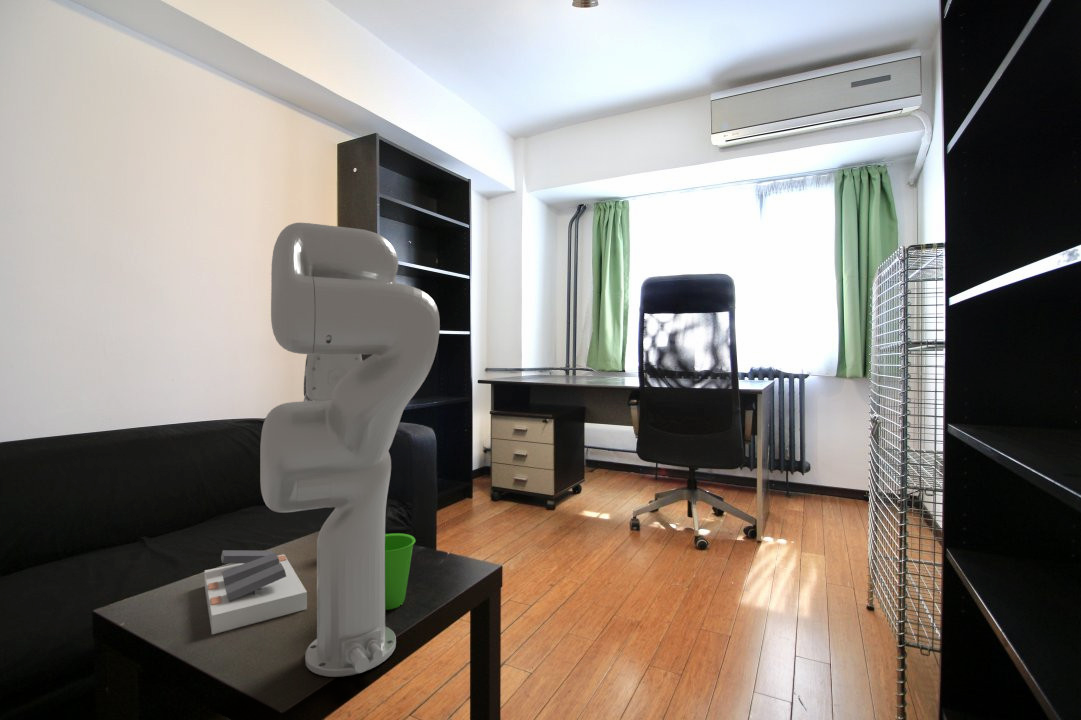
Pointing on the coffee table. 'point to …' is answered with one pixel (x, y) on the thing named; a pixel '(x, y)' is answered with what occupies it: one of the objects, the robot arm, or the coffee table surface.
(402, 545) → the cup
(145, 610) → the coffee table surface
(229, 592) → the rocker near
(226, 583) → the rocker middle
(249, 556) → the block
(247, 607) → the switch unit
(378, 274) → the robot arm
